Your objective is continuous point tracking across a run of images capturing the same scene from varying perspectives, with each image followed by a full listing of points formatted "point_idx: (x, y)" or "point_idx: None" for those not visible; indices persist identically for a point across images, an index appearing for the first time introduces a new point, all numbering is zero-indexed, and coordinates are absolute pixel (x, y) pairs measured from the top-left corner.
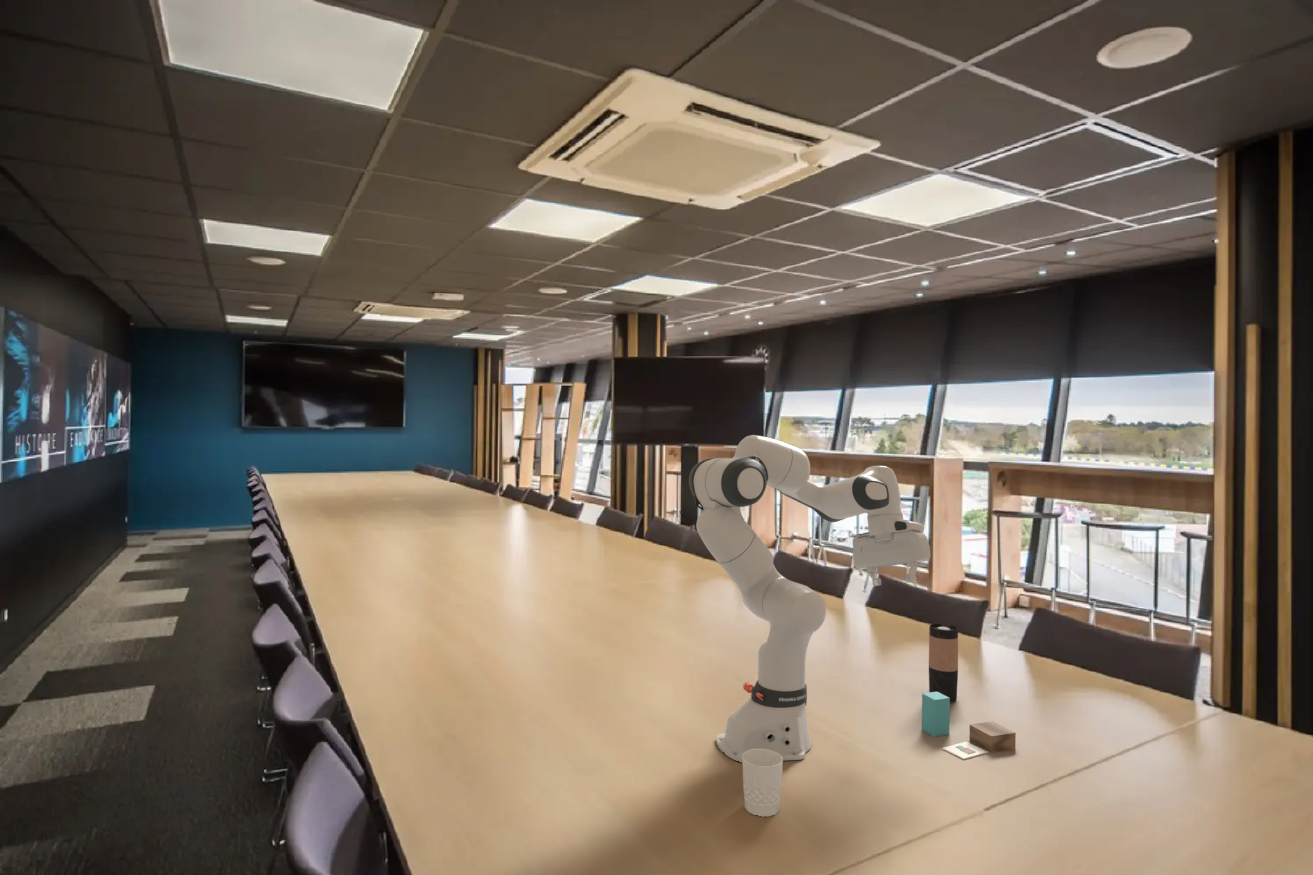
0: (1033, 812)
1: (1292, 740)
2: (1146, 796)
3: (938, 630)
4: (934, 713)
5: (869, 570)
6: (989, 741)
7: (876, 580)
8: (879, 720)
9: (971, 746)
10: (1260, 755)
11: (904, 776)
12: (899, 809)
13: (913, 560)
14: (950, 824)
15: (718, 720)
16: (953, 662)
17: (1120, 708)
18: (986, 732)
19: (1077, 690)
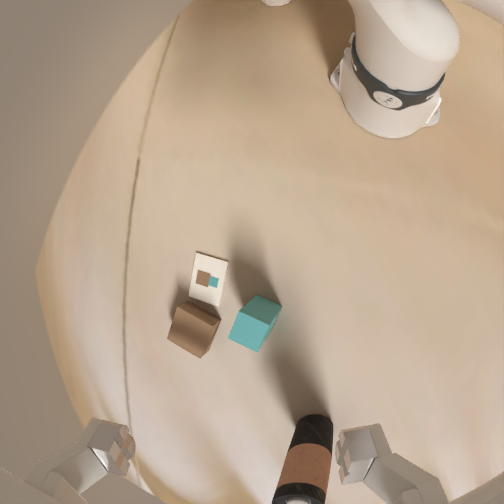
0: (114, 194)
1: None
2: (84, 304)
3: (297, 492)
4: (246, 304)
5: (421, 493)
6: (184, 305)
7: (354, 447)
8: (344, 287)
9: (207, 296)
10: None
11: (220, 147)
12: (189, 87)
13: (2, 469)
14: (149, 108)
15: (478, 100)
16: (285, 460)
17: (176, 477)
18: (186, 314)
19: (220, 500)
